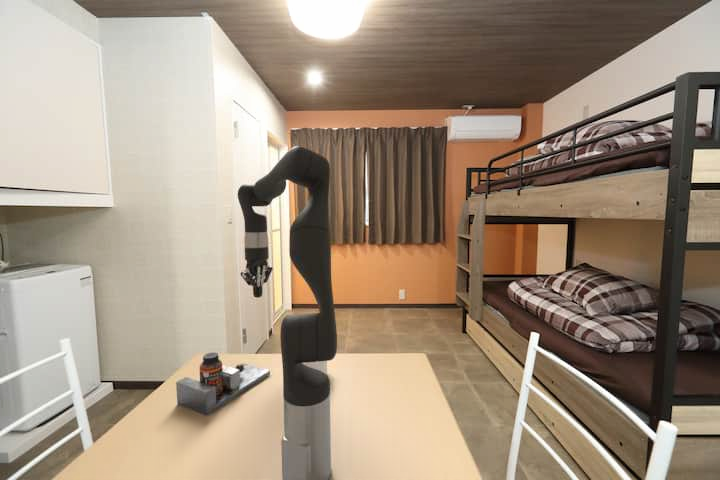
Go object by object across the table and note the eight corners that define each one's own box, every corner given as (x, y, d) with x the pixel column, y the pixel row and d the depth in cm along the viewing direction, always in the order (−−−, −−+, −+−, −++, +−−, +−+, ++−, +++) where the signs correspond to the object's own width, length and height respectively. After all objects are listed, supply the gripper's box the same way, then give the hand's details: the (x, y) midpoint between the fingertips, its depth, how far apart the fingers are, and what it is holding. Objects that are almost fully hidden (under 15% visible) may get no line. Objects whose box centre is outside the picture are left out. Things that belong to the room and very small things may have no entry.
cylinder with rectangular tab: (322, 383, 101) (322, 346, 100) (295, 381, 103) (294, 344, 102) (329, 369, 110) (329, 335, 109) (304, 367, 111) (303, 333, 110)
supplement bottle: (209, 401, 89) (208, 361, 88) (195, 395, 92) (194, 357, 91) (227, 390, 94) (226, 353, 93) (214, 385, 97) (212, 349, 96)
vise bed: (207, 415, 85) (205, 392, 85) (177, 404, 90) (176, 381, 90) (269, 374, 107) (269, 355, 106) (242, 367, 112) (242, 349, 111)
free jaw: (231, 391, 94) (230, 375, 94) (209, 383, 98) (208, 368, 98) (253, 377, 102) (253, 362, 102) (232, 370, 106) (232, 356, 106)
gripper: (250, 248, 100) (251, 303, 101) (278, 244, 112) (279, 293, 113) (232, 247, 103) (234, 300, 105) (262, 243, 115) (263, 291, 116)
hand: (258, 296), depth 109 cm, fingers closed
